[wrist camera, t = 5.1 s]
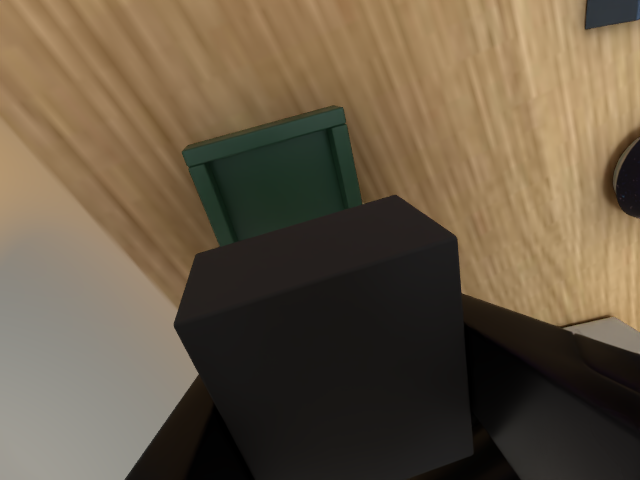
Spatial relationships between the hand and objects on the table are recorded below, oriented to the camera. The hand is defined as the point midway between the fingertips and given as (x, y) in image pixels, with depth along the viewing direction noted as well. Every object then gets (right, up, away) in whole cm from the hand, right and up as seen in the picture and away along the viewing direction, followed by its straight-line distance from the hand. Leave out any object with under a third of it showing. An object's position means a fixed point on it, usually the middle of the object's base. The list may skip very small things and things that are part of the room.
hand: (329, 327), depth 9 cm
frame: (-2, +4, +9) cm, 10 cm away
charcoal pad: (0, 0, 0) cm, 0 cm away
